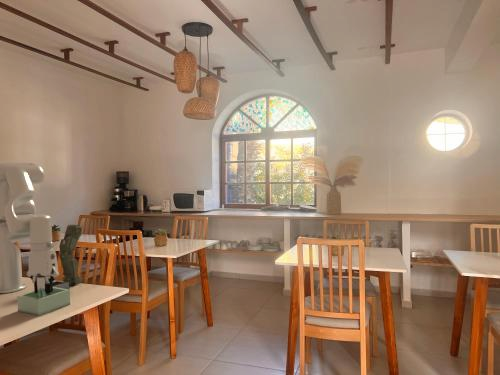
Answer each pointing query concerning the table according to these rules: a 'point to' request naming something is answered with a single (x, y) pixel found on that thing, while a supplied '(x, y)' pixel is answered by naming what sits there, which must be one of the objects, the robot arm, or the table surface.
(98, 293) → the table surface
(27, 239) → the robot arm
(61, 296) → the bin
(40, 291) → the strut
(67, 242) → the mechanical leg
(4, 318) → the table surface
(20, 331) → the table surface
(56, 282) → the socket block
